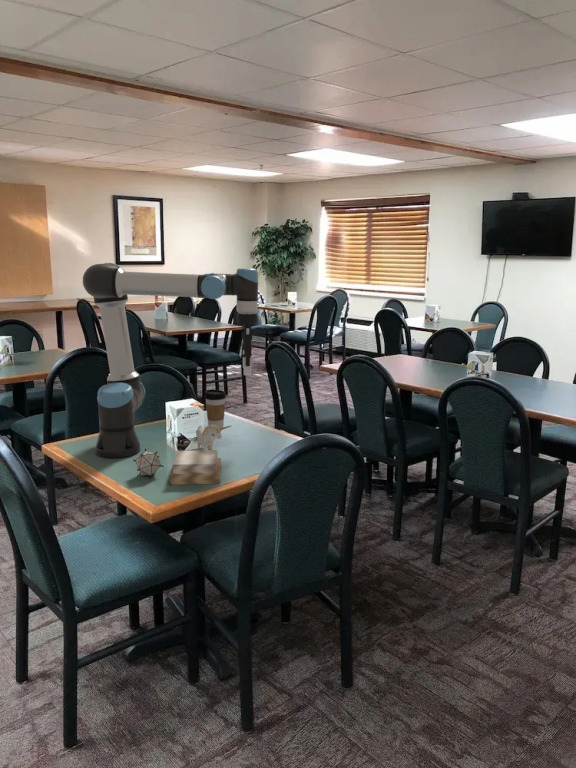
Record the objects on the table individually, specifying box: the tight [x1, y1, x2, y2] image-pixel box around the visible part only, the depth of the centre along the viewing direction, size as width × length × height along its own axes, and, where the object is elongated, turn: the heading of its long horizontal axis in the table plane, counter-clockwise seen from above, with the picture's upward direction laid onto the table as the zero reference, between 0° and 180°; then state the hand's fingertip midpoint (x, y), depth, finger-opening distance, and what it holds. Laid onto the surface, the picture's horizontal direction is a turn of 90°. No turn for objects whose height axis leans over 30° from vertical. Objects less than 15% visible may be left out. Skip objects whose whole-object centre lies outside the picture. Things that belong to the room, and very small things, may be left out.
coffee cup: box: [204, 388, 227, 428], centre depth 246 cm, size 8×8×15 cm
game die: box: [132, 448, 164, 479], centre depth 195 cm, size 9×8×10 cm
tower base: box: [169, 449, 222, 486], centre depth 195 cm, size 15×15×6 cm
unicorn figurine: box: [195, 424, 232, 451], centre depth 210 cm, size 7×20×13 cm, turn 37°
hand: (246, 371), depth 225 cm, fingers open, 13 cm apart
